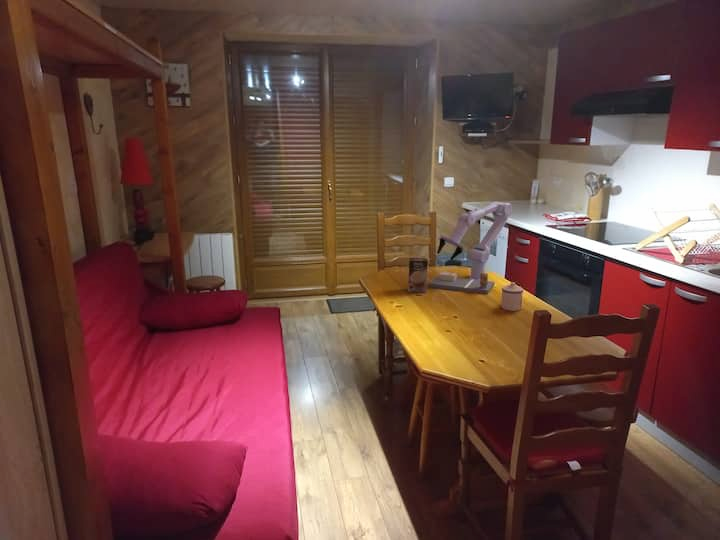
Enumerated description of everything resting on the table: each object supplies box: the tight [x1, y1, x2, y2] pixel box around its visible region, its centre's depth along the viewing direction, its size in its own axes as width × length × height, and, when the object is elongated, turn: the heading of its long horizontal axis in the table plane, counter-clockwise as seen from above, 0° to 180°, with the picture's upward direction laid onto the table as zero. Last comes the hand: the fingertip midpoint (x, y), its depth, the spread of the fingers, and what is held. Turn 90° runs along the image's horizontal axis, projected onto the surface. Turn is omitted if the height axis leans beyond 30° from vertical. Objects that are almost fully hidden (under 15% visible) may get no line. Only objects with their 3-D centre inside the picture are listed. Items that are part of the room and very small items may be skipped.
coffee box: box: [407, 257, 429, 293], centre depth 243 cm, size 9×6×16 cm
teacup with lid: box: [500, 281, 524, 312], centre depth 218 cm, size 12×9×12 cm
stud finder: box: [438, 271, 458, 281], centre depth 256 cm, size 5×8×3 cm, turn 64°
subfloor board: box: [427, 274, 495, 295], centre depth 251 cm, size 16×30×2 cm, turn 64°
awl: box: [480, 272, 489, 288], centre depth 241 cm, size 4×4×7 cm
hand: (444, 256), depth 248 cm, fingers open, 7 cm apart
